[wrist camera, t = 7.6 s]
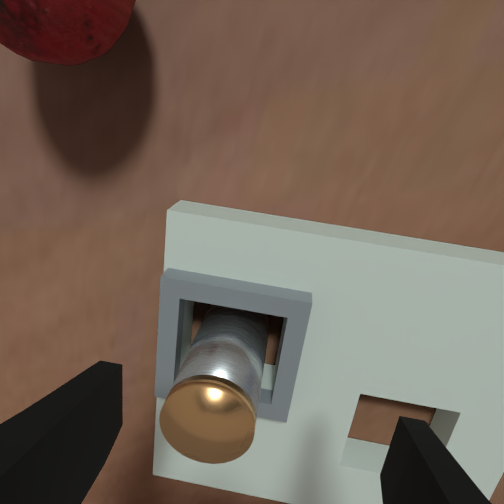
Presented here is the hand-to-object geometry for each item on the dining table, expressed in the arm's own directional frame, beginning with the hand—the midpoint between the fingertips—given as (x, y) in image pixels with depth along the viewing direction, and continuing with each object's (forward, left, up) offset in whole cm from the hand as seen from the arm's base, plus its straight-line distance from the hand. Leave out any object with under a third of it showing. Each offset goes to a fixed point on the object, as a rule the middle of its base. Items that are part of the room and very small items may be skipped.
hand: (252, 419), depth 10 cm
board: (-4, +5, -10) cm, 12 cm away
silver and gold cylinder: (+2, +3, -10) cm, 11 cm away
